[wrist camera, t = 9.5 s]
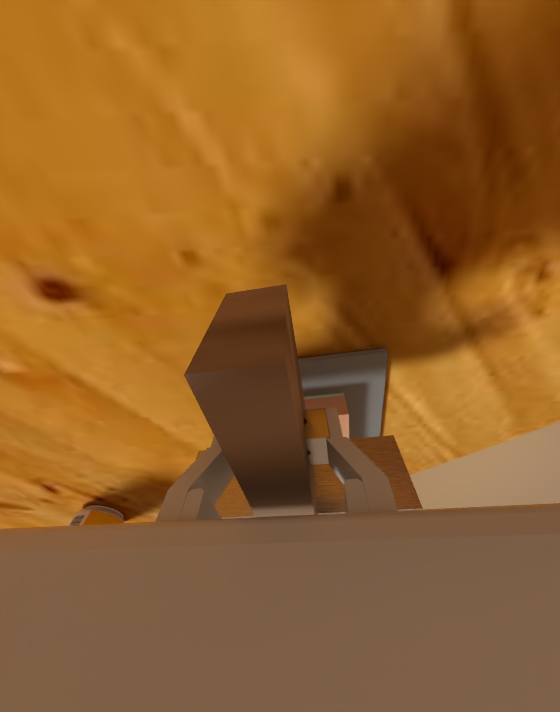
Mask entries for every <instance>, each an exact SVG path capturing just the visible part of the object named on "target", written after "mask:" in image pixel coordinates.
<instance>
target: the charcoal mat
mask: <svg viewBox="0 0 560 712" xmlns="http://www.w3.org/2000/svg"><path fill="white" fill-rule="evenodd" d="M387 358H388V351H387V349H386V348H382V349H373V350H365V351H356V352H348V353H339V354H331V355H323V356H314V357H306V358H298V362H299V368H300V374H301V381H302V387H303V393H304V397H306V396H316V395H326V394H336V393H344V397H345V401H346V405H347V409H348V413H349V439H353V438H366V437H378V436H380V429H381V419H382V409H383V399H384V389H385V379H386V369H387Z"/></svg>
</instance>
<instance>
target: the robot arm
mask: <svg viewBox="0 0 560 712" xmlns="http://www.w3.org/2000/svg"><path fill="white" fill-rule="evenodd" d="M304 421H305V426H304V427H305V440H306V446H307V450H308V457H309V463H310V465H314V464H329V466H330V467H331V468H332V470H333V471H334V472H335V474H336V475H337V476H338V478H339V479H340V480H341V481H342V483H343V484H344V494H345V513H338V514H316V515H294V516H272V517H250V518H229V519H222V517H221V516H220V514H219V513H218V511H217V510H216V509H215V507H214V505H215V504H216V502H217V501H218V499H219V498H220V496H221V495H222V493H223V492H224V490H225V489H226V487H227V486H228V484H229V483H230V482H231V480H232V479H233V477H234V476H235V475H234V473H233V471H232V469H231V467H230V465H229V463H228V461H227V459H226V457H225V455H224V453H223V451H222V449H221V447H220V445H219V443H218V441H217V439H216V437H215V435H214V438H213V441H212V445H211V448H207V449H206V450H205V451H204V452H203V453H202V454H201V455H200V457H199V458H198V459H197V460H196V461H195V462H194V463H193V464H192V465H191V466H190V467H189V468H188V469H187V470H186V471H185V472H184V473H183V474H182V475H181V476H180V477H179V478H178V479H177V480H176V482H175V483H174V484H173V485H172V486H171V487H170V488H169V489H168V491H167V493H166V496H165V498H164V501H163V504H162V506H161V509H160V511H159V514H158V517H157V519H156V522H142V523H120V524H99V525H77V526H55V527H32V528H9V529H0V712H560V503H558V504H557V503H555V504H534V505H511V506H490V507H469V508H447V509H425V510H404V511H398V508H397V505H396V502H395V499H394V496H393V493H392V490H391V487H390V483H389V480H388V477H387V476H386V475H385V474H384V473H383V472H382V471H381V470H380V469H379V468H378V467H377V466H376V465H375V464H374V463H373V462H372V461H371V460H370V459H369V458H368V457H367V456H366V455H365V454H364V453H363V452H362V451H361V450H360V449H359V448H357V447H356V446H355V445H354V444H353V443H352V442H351V441H350V440H349V439H348V438H347V437H343V434H342V429H341V425H340V420H339V415H338V410H337V408H336V407H329V408H318V409H309V410H304Z"/></svg>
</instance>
